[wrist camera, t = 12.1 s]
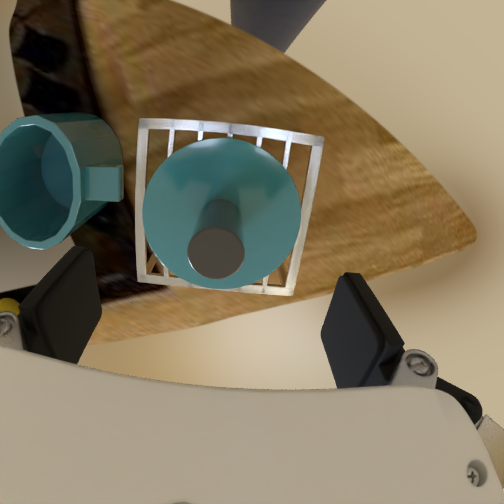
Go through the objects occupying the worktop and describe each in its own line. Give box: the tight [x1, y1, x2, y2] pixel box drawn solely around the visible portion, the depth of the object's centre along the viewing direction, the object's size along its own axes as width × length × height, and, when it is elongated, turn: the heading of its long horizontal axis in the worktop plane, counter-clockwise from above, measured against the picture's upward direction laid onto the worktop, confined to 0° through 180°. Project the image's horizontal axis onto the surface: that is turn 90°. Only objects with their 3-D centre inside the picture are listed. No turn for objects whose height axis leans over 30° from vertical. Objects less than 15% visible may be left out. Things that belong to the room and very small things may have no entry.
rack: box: [135, 118, 325, 296], centre depth 24 cm, size 13×13×6 cm
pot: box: [0, 113, 124, 249], centre depth 20 cm, size 10×16×8 cm, turn 83°
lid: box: [142, 137, 301, 289], centre depth 18 cm, size 11×11×7 cm
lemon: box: [0, 298, 20, 315], centre depth 27 cm, size 6×6×8 cm
